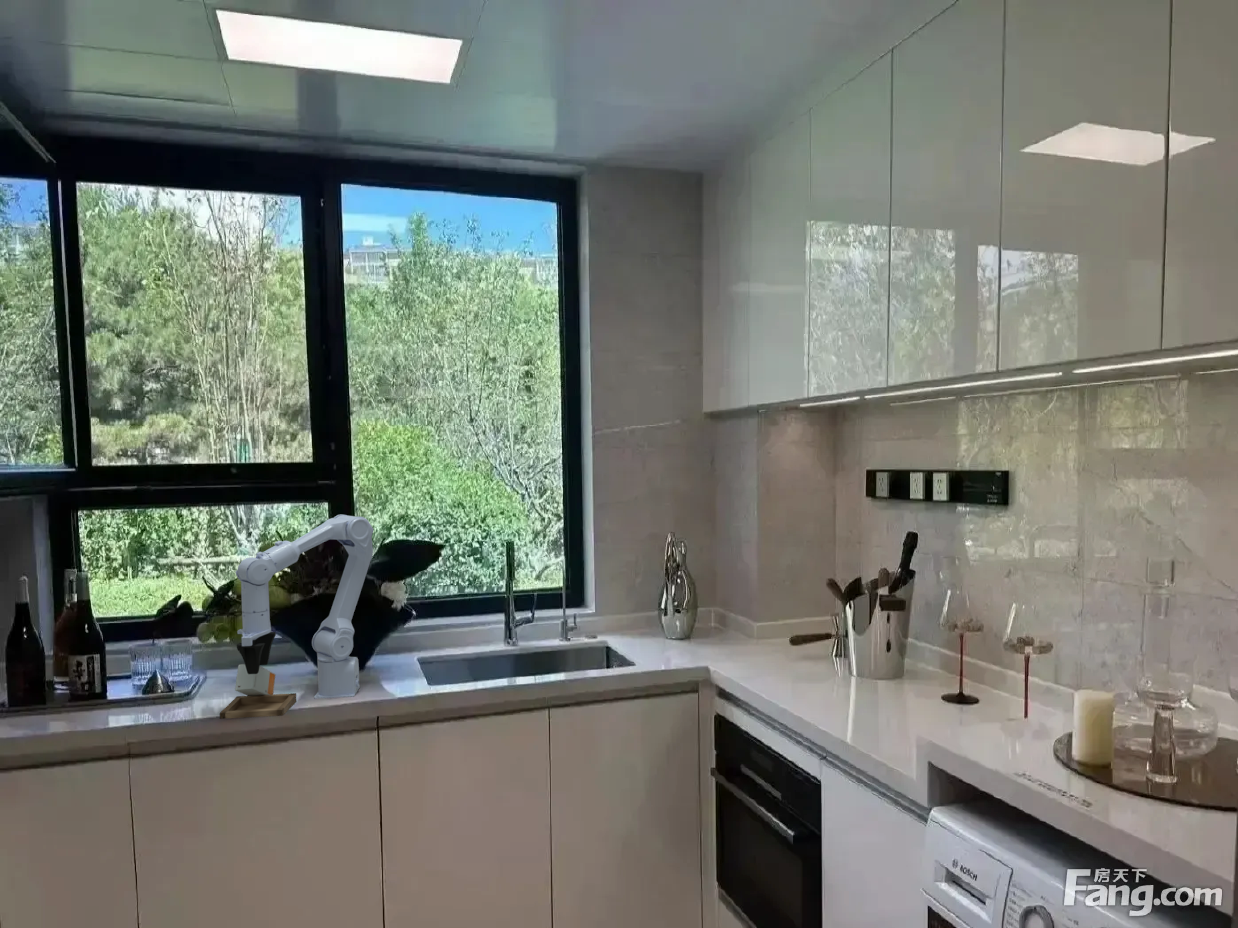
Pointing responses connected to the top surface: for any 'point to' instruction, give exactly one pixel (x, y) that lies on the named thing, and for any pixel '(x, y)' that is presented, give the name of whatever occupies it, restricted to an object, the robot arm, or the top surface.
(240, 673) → the skincare box
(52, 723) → the top surface
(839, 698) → the top surface
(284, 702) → the tray
